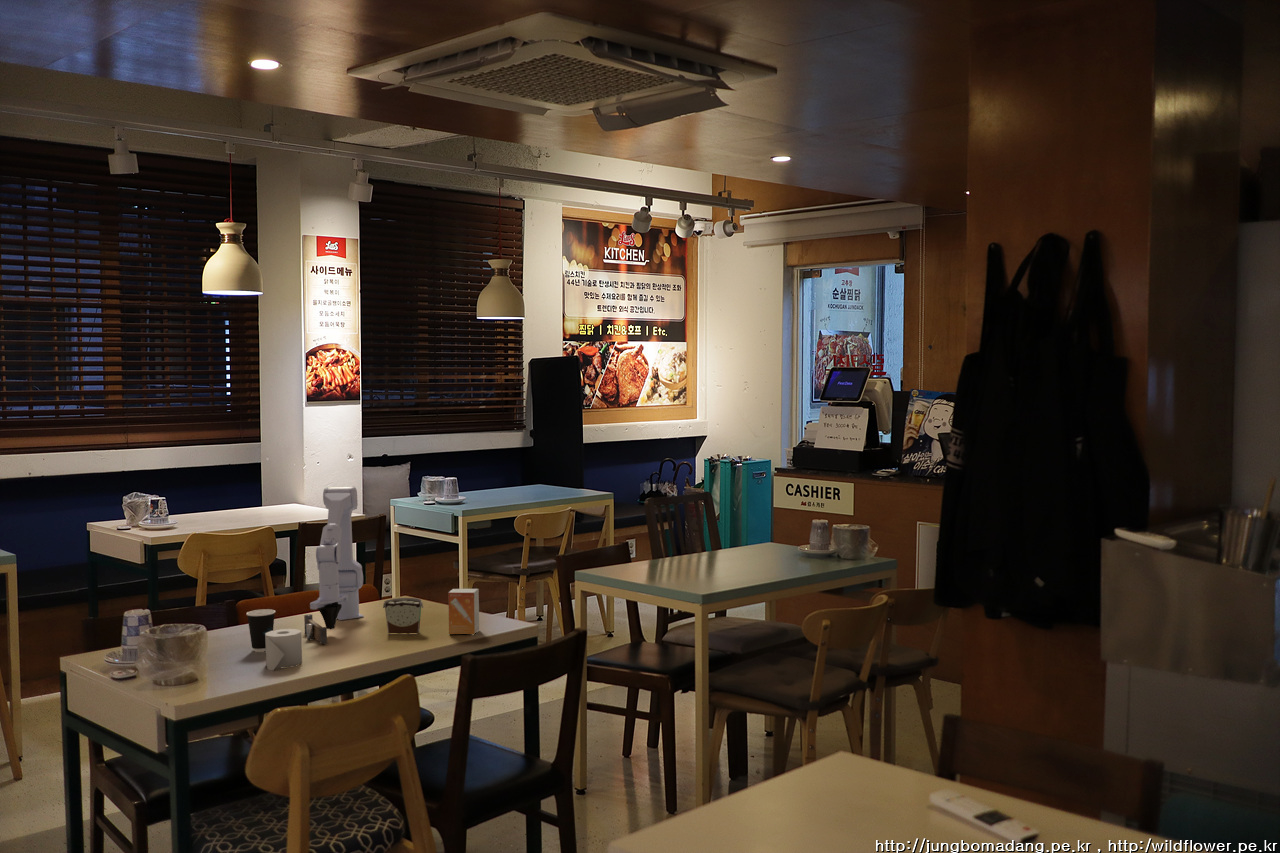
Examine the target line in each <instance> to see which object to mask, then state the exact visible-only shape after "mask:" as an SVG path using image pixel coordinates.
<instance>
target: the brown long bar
mask: <svg viewBox="0 0 1280 853" xmlns="http://www.w3.org/2000/svg"><path fill="white" fill-rule="evenodd" d="M308 624H313V627H314V640H316V641H317V642H319V644H321V645H326V644H328V632H327V630H328V629H327V628H326V626H324V627H323V626H321V624H319V623H317V622H316V621H315V620H312V619H309V620H308Z"/></svg>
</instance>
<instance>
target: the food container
mask: <svg viewBox="0 0 1280 853" xmlns="http://www.w3.org/2000/svg"><path fill="white" fill-rule="evenodd" d="M423 608H424V603H423V602H422V599H420V598H416V597H395V598H389V599H387V600H385V601H384V602H383V607H382V609H384V611H385V612H384V613H385V619H386V628H387V634H388V633H419V634H420V626H421V615H422V614H421V612H422V609H423Z"/></svg>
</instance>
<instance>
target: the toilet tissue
mask: <svg viewBox="0 0 1280 853" xmlns="http://www.w3.org/2000/svg"><path fill="white" fill-rule="evenodd" d="M265 642H266V652H265V665H267V666H266V669H267V670H268V669H270V670H273V671H274V670H275V669H282V668H281V667H289V668H292V667H291V666H294V667H297V666H296V665H298V664H300V663H302V664H303V651H302V646H303V645H302V631H301V629H297V628H296V629H295V628H281V629H275V630H274V629H273V631H270V632H267V633H265ZM300 665H301V664H300ZM298 666H299V665H298ZM270 670H269V671H270Z"/></svg>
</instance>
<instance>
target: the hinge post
mask: <svg viewBox="0 0 1280 853" xmlns="http://www.w3.org/2000/svg"><path fill="white" fill-rule="evenodd" d="M303 617H304V634H305V635H307V628H306V624H308V620H309V619H312V620H313V618H314V617H313V614H309V613H307V614H305V615H303ZM313 621H314V620H313Z"/></svg>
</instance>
